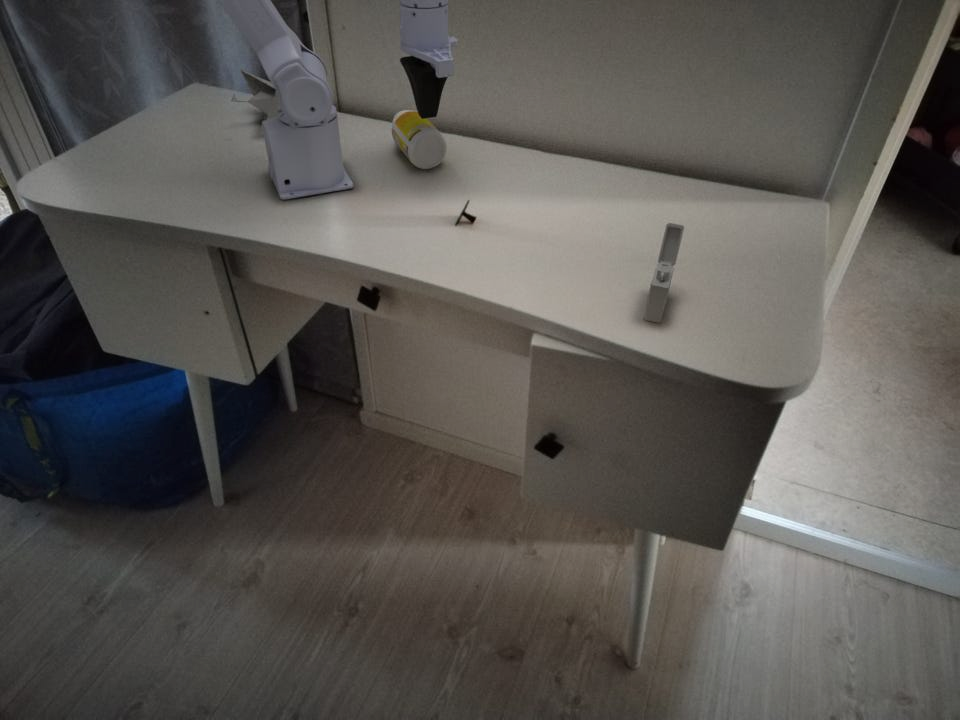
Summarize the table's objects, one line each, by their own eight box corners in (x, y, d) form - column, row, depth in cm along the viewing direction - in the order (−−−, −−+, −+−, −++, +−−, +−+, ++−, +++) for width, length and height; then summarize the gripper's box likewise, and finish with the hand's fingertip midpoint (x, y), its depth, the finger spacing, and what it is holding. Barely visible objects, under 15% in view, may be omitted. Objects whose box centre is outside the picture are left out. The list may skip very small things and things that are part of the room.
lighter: (660, 323, 71) (675, 255, 66) (643, 319, 72) (657, 251, 67) (670, 286, 76) (685, 220, 71) (654, 282, 77) (668, 217, 72)
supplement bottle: (452, 134, 95) (427, 107, 102) (414, 128, 92) (391, 100, 99) (442, 173, 98) (417, 144, 105) (405, 168, 95) (382, 138, 102)
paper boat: (308, 123, 105) (247, 119, 100) (295, 150, 110) (236, 148, 105) (285, 58, 108) (225, 52, 103) (273, 87, 113) (215, 82, 108)
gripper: (478, 15, 79) (477, 132, 88) (435, -15, 89) (437, 93, 98) (419, 21, 77) (423, 140, 86) (381, -11, 87) (388, 99, 96)
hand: (427, 116), depth 92 cm, fingers closed
